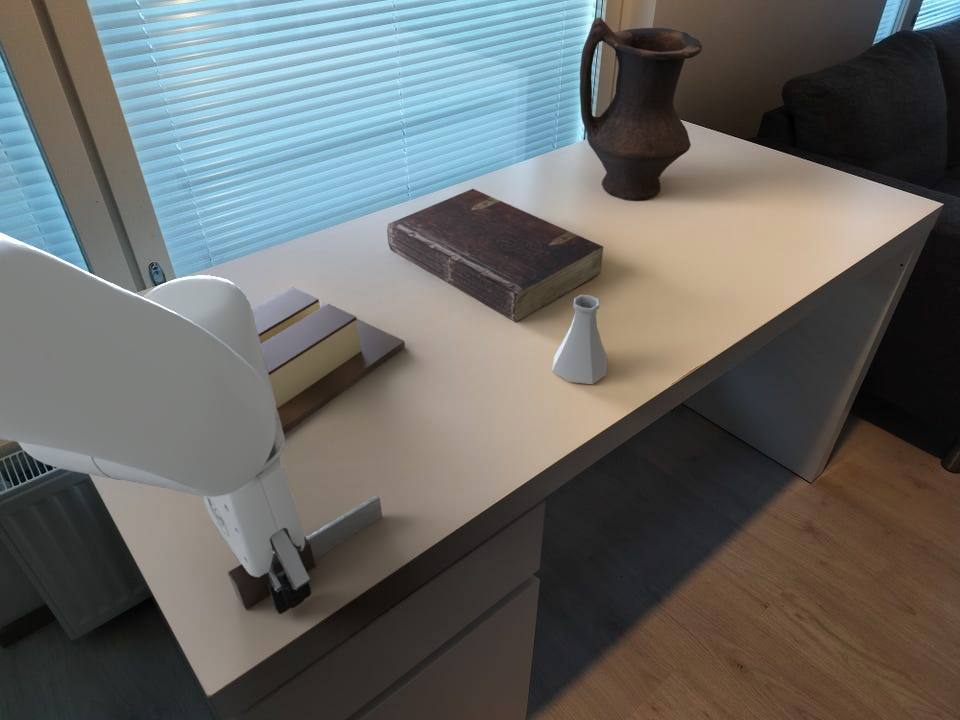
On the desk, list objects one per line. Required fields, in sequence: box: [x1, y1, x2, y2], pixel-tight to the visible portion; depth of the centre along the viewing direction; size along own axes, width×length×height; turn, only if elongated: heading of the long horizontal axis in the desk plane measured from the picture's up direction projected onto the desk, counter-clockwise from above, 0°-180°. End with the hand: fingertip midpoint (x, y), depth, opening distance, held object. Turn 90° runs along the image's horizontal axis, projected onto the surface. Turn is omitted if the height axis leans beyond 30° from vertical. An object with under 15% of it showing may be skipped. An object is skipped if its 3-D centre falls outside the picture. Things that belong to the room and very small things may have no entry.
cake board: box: [277, 300, 406, 435], centre depth 88 cm, size 24×18×1 cm
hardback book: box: [386, 188, 604, 323], centre depth 107 cm, size 29×19×5 cm, turn 43°
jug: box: [579, 16, 703, 201], centre depth 122 cm, size 21×18×30 cm
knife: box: [227, 494, 383, 611], centre depth 64 cm, size 15×2×4 cm, turn 130°
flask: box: [551, 294, 608, 385], centre depth 84 cm, size 7×7×10 cm
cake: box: [252, 286, 361, 408], centre depth 86 cm, size 14×12×5 cm
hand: (275, 575), depth 62 cm, fingers open, 6 cm apart
